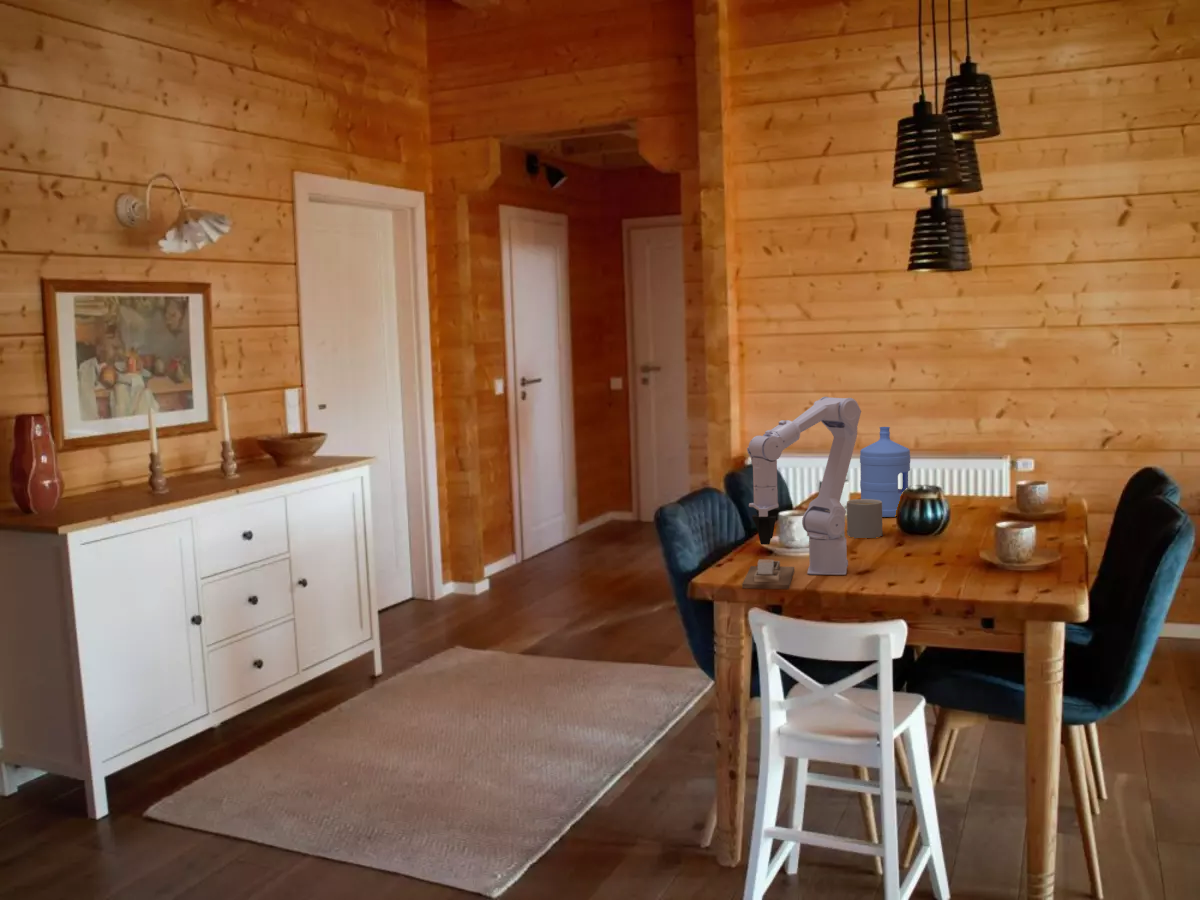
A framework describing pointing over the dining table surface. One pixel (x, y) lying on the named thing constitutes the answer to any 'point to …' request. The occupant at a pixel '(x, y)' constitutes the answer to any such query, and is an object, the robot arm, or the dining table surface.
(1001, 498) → the dining table surface
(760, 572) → the square peg
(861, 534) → the coffee mug
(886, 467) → the water jug
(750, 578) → the socket board
